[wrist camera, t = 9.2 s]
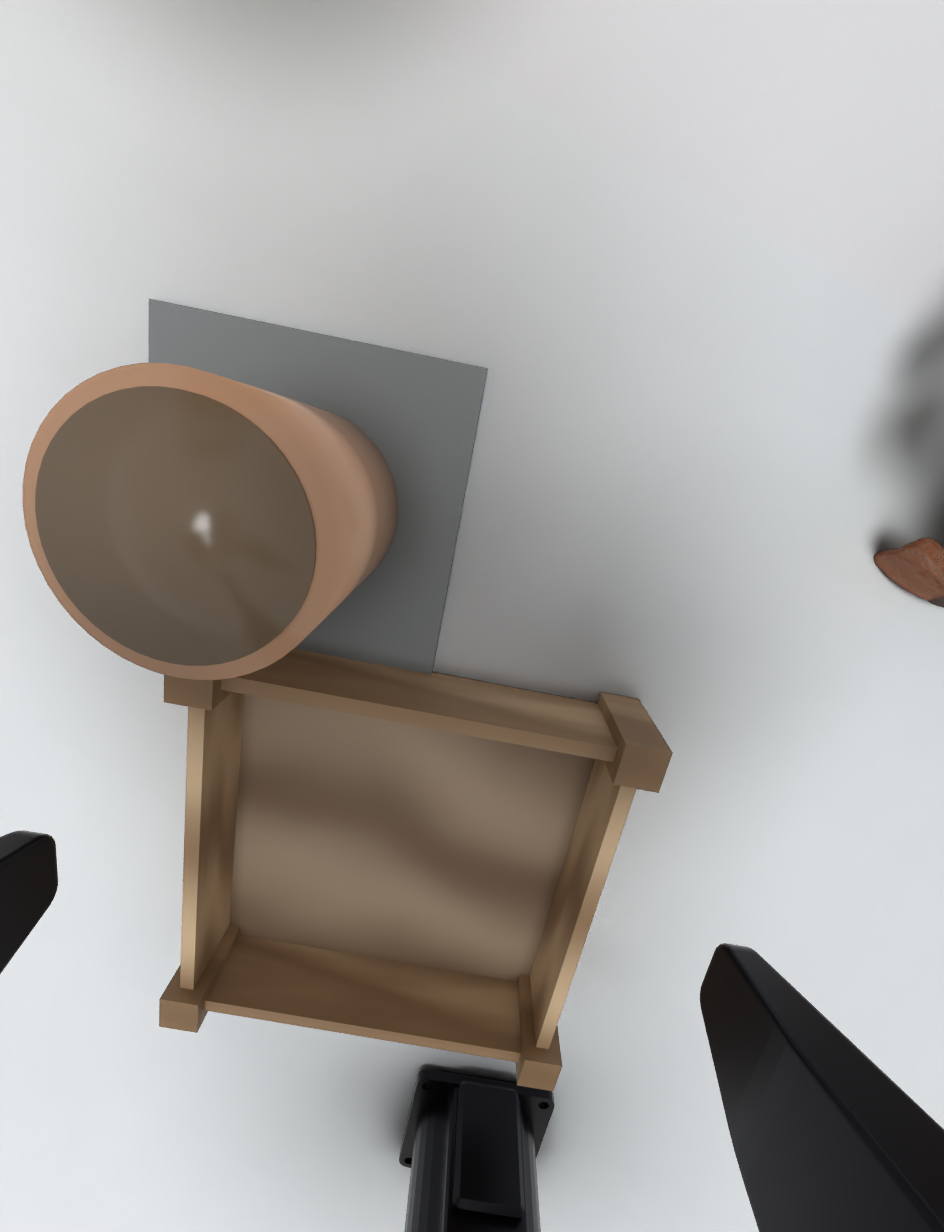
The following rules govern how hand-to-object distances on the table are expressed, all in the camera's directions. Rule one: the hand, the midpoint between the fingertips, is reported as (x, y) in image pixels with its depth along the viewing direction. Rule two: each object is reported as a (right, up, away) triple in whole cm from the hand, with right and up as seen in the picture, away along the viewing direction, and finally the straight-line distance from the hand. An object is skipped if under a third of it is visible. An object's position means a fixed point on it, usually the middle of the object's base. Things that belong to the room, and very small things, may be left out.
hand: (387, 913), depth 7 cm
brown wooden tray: (-2, -5, +13) cm, 14 cm away
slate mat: (-4, +8, +10) cm, 13 cm away
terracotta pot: (-4, +8, +10) cm, 13 cm away
